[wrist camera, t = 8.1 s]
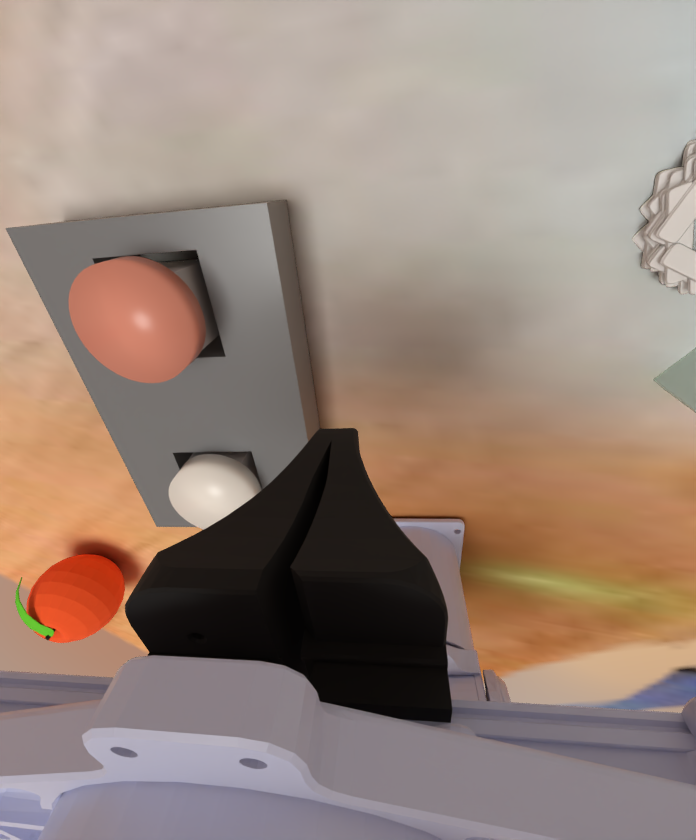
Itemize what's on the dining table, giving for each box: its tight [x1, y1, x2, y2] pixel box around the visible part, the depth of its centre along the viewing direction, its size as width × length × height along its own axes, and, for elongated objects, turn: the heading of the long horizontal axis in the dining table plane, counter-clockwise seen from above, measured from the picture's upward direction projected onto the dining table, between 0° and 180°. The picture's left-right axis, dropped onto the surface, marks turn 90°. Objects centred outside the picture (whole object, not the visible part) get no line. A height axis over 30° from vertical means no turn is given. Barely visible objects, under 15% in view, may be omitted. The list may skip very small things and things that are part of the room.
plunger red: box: [69, 256, 219, 383], centre depth 18 cm, size 5×5×5 cm
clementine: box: [15, 554, 125, 643], centre depth 32 cm, size 8×7×7 cm
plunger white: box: [169, 451, 262, 529], centre depth 24 cm, size 5×5×5 cm
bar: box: [6, 200, 320, 527], centre depth 22 cm, size 19×12×4 cm, turn 5°
